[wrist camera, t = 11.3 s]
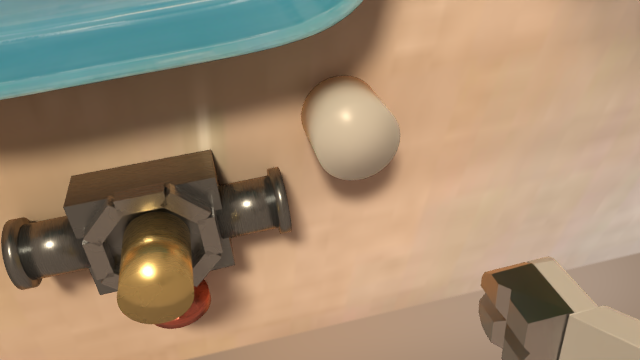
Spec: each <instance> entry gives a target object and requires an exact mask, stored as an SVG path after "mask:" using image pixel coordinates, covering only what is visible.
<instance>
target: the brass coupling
mask: <svg viewBox="0 0 640 360" xmlns="http://www.w3.org/2000/svg"><path fill="white" fill-rule="evenodd" d="M193 300H194V283H193V268H192V253H191V239H190V231H189V229H188V227H187V225H186V224H185V223H184V222H183V221H182V220H181V219H180V218H178V217H176V216H175V215H172V214H169V213H165V212H151V213H146V214H143V215H140V216H138V217H136V218H135V219H133V220H132V221H131V222H130V223H129V224H128V225H127V227H126V228H125V231H124V234H123V241H122V251H121V261H120V272H119V282H118V292H117V303H118V306H119V308H120V310H121V311H122V312H123V313H124V314H125V315H126V316H127V317H129V318H130V319H132V320H134V321H137V322H140V323H145V324H161V323H166V322H170V321H172V320H175V319H177V318H179V317H180V316H182V315H183V314H184V313H185V312H186V311H187V310H188V309H189V308H190V306H191V305H192V303H193Z"/></svg>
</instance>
